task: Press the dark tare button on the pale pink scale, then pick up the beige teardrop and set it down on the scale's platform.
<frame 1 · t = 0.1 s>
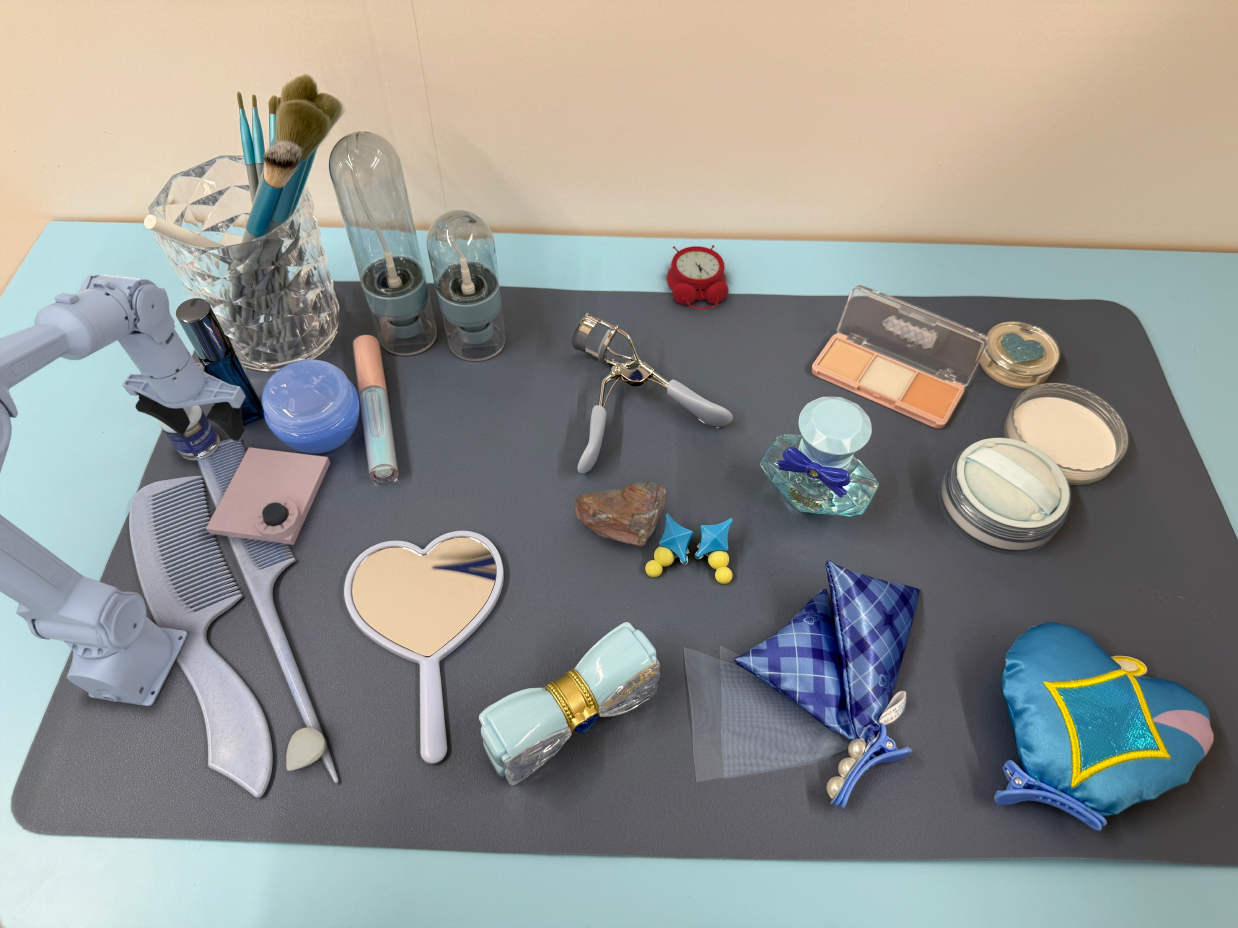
hand: (211, 431, 103), 10 cm above the table, tool pointing down, fingers open, 7 cm apart
stone: (623, 536, 106), on the table
beige teardrop: (307, 754, 89), on the table
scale: (272, 497, 109), on the table
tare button: (274, 513, 103), point 3 cm above the table, slide at 0.1 cm
alarm clock: (697, 288, 136), on the table
pill bottle: (201, 447, 114), on the table
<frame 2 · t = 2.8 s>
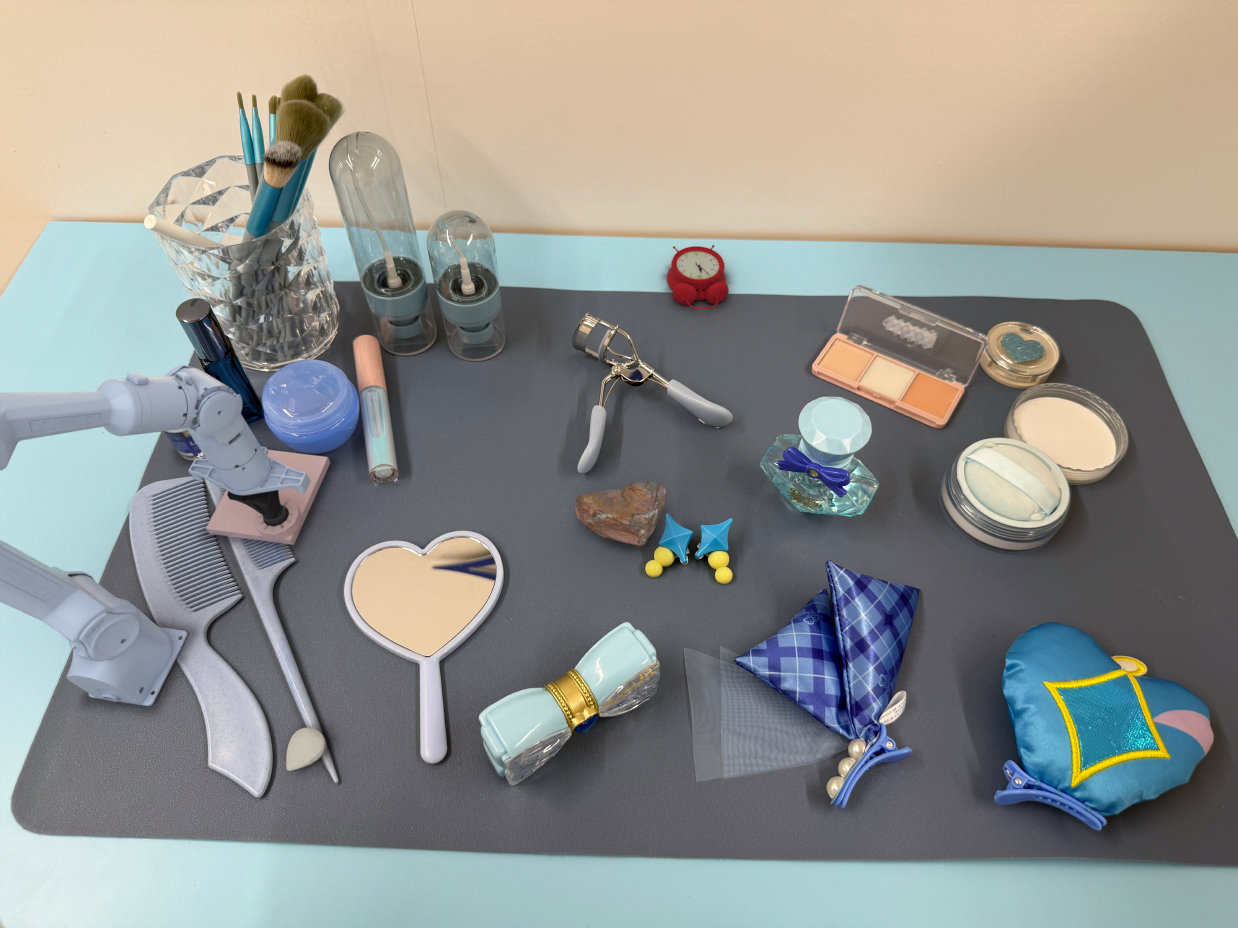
hand: (273, 511, 103), 4 cm above the table, tool pointing down, fingers closed, pressing on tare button
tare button: (275, 514, 103), point 3 cm above the table, slide at 0.0 cm, touching gripper
everything else where it was.
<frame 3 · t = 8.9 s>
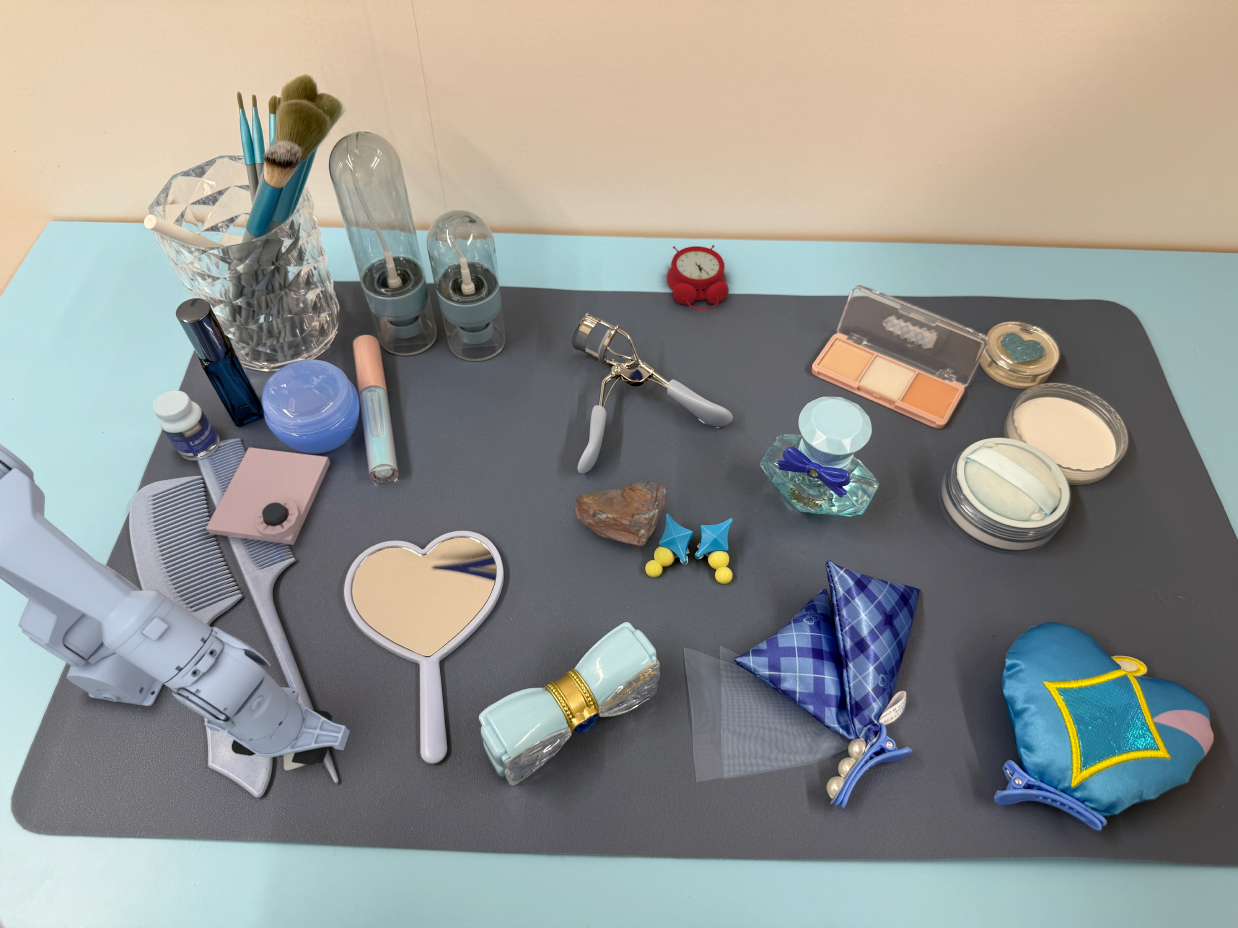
hand: (302, 750, 87), 1 cm above the table, tool pointing down, fingers closed on beige teardrop, 4 cm apart
beige teardrop: (304, 753, 89), on the table, touching gripper
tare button: (274, 514, 103), point 3 cm above the table, slide at 0.1 cm
everything else where it was.
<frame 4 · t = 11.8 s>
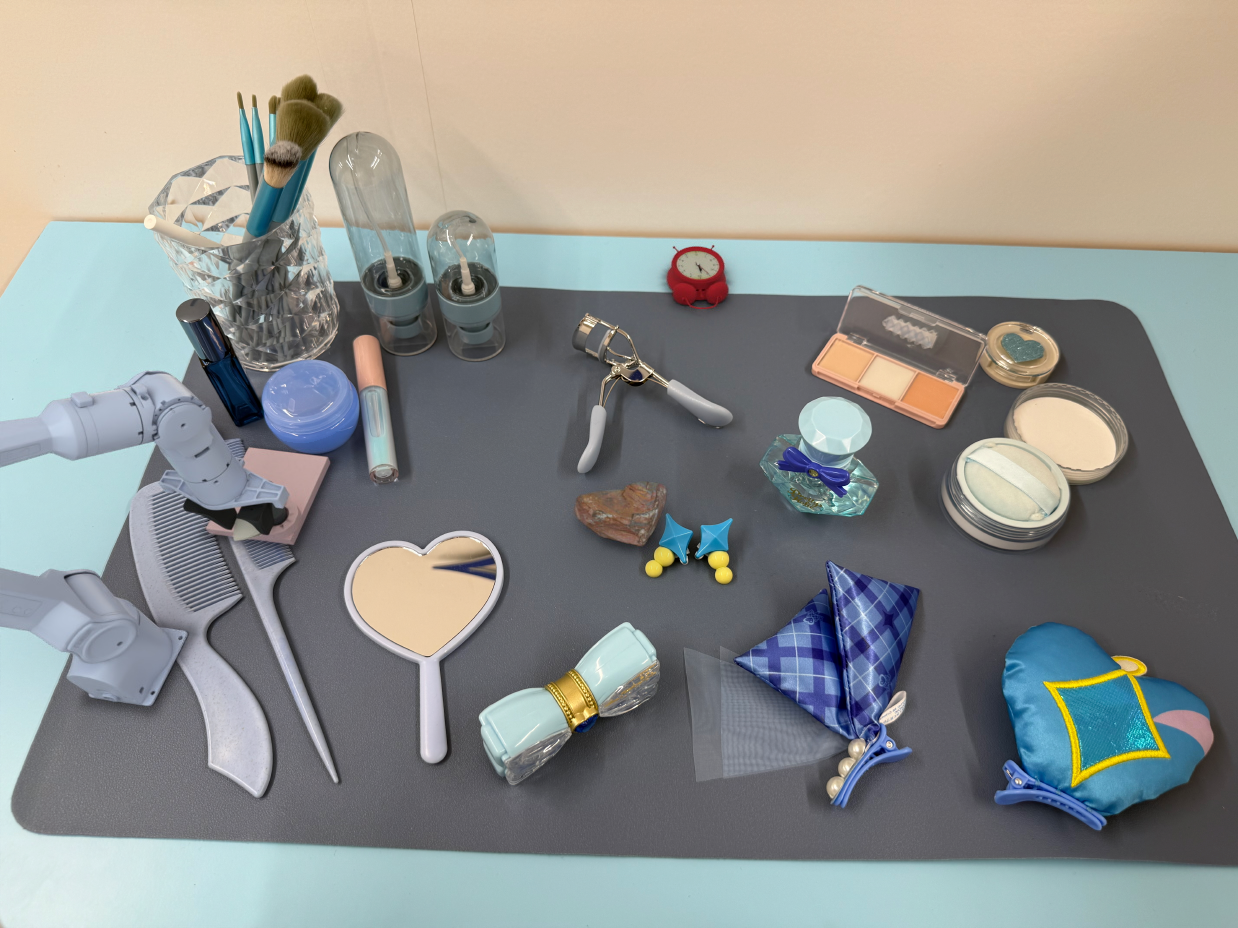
hand: (251, 525, 96), 8 cm above the table, tool pointing down, fingers closed on beige teardrop, 4 cm apart
beige teardrop: (253, 531, 98), point 7 cm above the table, touching gripper
everything else where it was.
when the fingers open (3 cm above the table, at t = 14.9 s): beige teardrop stays where it is, resting on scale.
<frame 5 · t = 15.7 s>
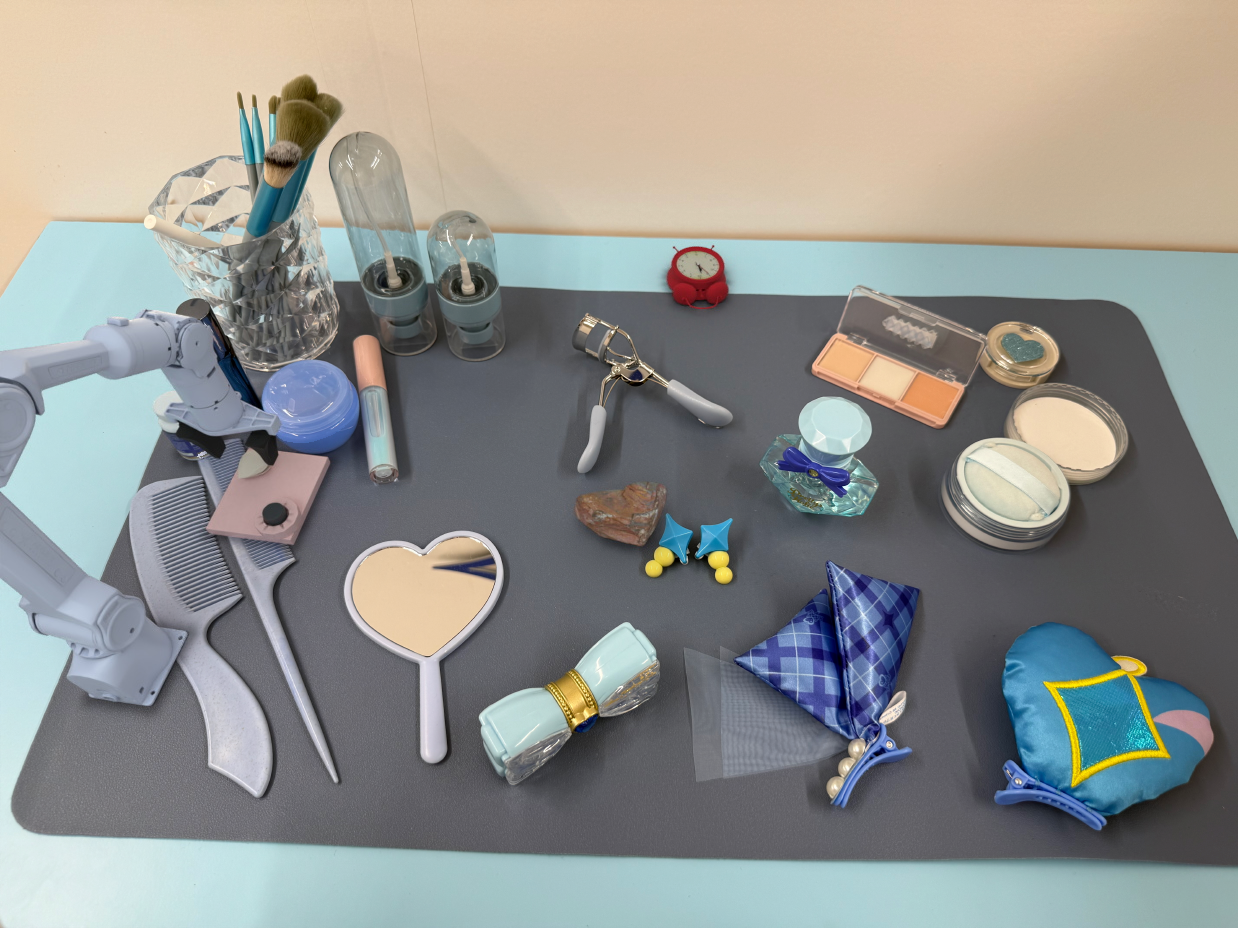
hand: (247, 456, 107), 5 cm above the table, tool pointing down, fingers open, 7 cm apart
beige teardrop: (255, 471, 110), point 1 cm above the table, touching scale
everything else where it was.
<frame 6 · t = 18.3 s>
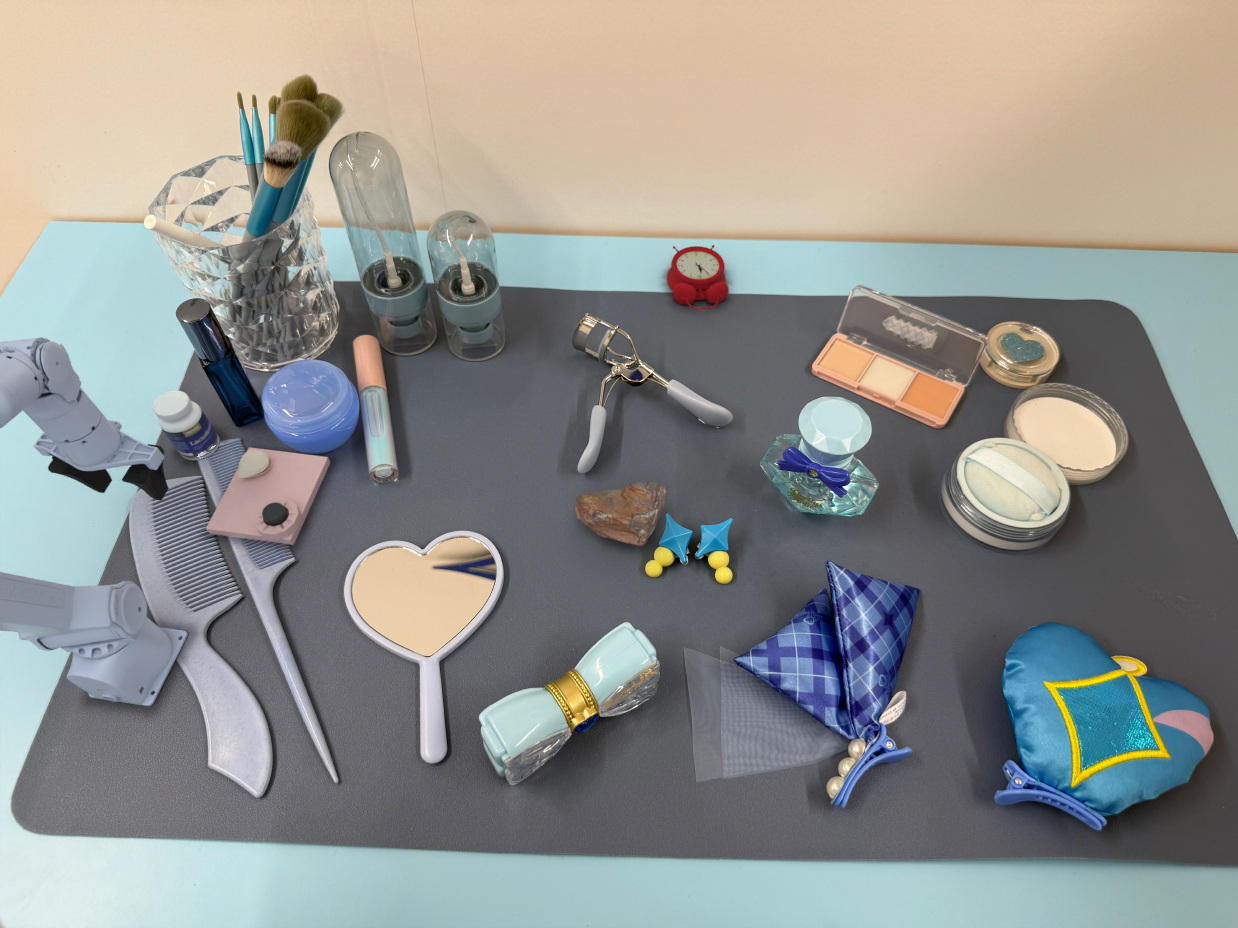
hand: (134, 490, 98), 9 cm above the table, tool pointing down, fingers open, 7 cm apart
nothing on the table moved.
at the end: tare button pushed in 1.0 cm at the most during the clip, back to where it started at the end; beige teardrop inside the target area on the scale (1.1 cm from its centre), point 1.2 cm above the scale's base; beige teardrop touching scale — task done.
